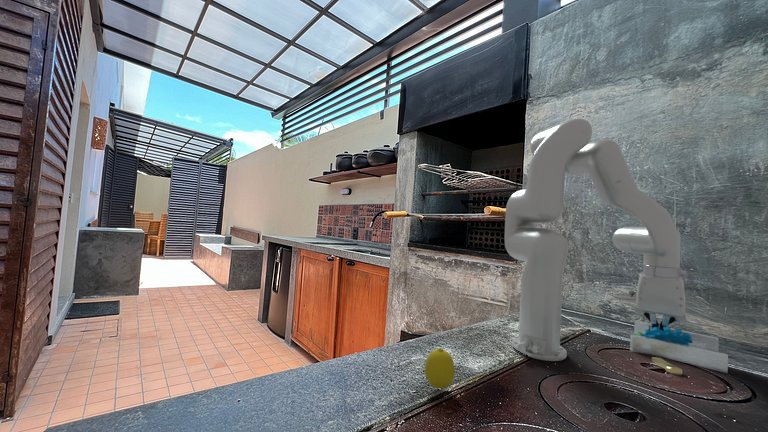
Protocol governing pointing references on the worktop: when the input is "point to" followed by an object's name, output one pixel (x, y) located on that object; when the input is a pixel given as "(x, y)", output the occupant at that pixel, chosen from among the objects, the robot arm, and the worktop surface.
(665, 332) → the blue green toy animal
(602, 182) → the robot arm
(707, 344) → the channel
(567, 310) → the worktop surface
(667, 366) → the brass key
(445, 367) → the lemon
